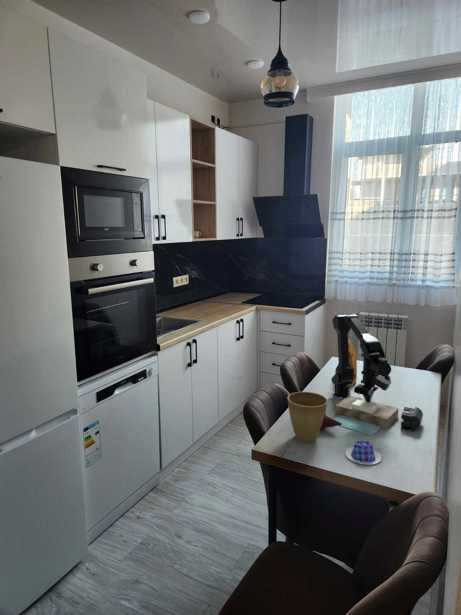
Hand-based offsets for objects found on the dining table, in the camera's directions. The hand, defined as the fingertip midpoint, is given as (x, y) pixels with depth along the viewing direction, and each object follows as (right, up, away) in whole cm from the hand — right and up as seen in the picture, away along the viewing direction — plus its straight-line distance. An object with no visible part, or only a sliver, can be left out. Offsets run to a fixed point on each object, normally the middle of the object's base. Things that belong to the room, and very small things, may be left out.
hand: (368, 403), depth 175 cm
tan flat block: (-1, -5, 0) cm, 5 cm away
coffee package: (+2, +2, +40) cm, 40 cm away
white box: (-3, -1, -3) cm, 4 cm away
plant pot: (-30, -9, -19) cm, 37 cm away
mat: (-9, -7, -9) cm, 14 cm away
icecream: (-23, -8, -12) cm, 27 cm away
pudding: (-13, -11, -32) cm, 37 cm away
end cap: (+14, -7, -10) cm, 19 cm away
